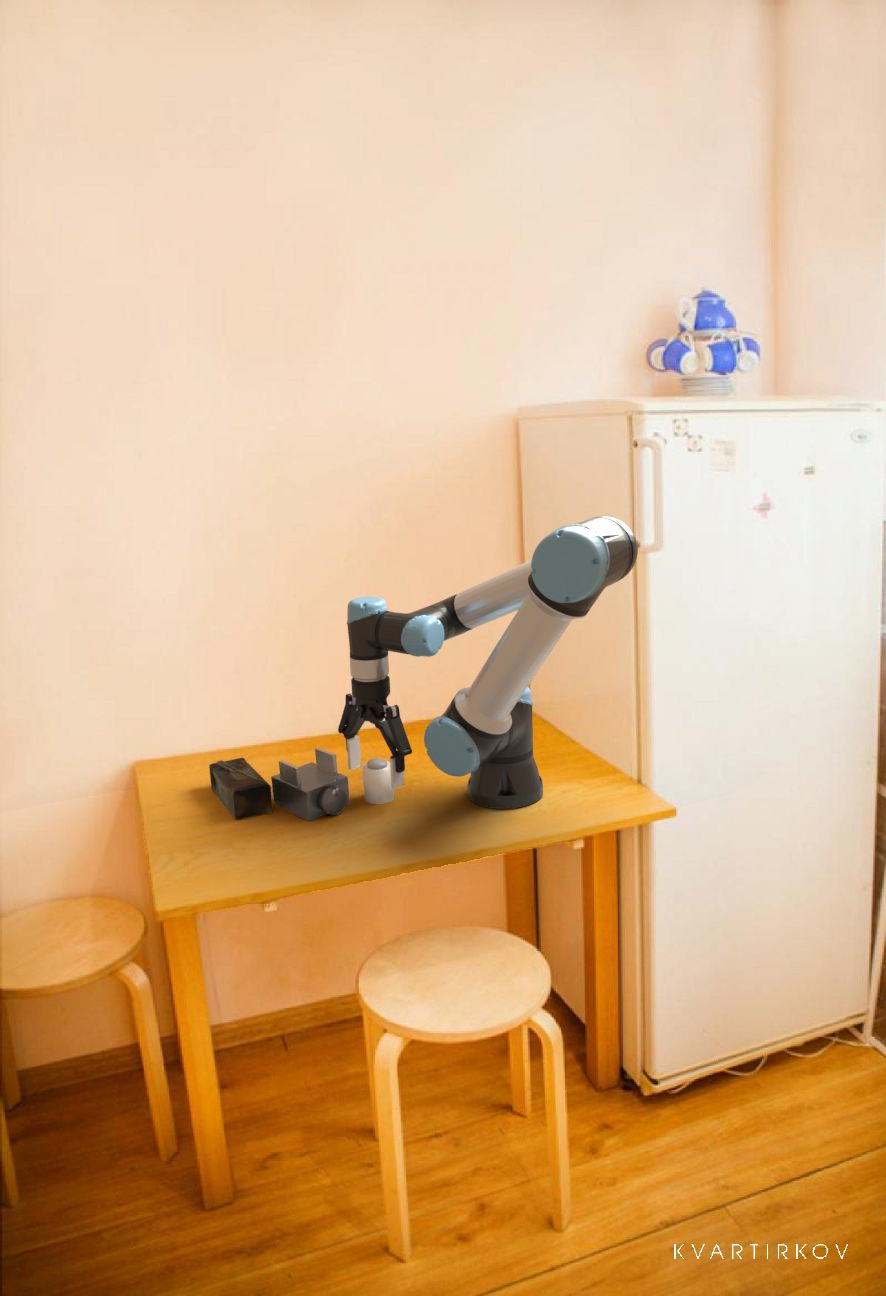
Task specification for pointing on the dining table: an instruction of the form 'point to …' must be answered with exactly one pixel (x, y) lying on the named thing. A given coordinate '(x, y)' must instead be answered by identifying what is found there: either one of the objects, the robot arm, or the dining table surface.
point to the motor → (311, 787)
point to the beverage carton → (240, 788)
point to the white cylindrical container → (377, 781)
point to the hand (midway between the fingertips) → (375, 777)
